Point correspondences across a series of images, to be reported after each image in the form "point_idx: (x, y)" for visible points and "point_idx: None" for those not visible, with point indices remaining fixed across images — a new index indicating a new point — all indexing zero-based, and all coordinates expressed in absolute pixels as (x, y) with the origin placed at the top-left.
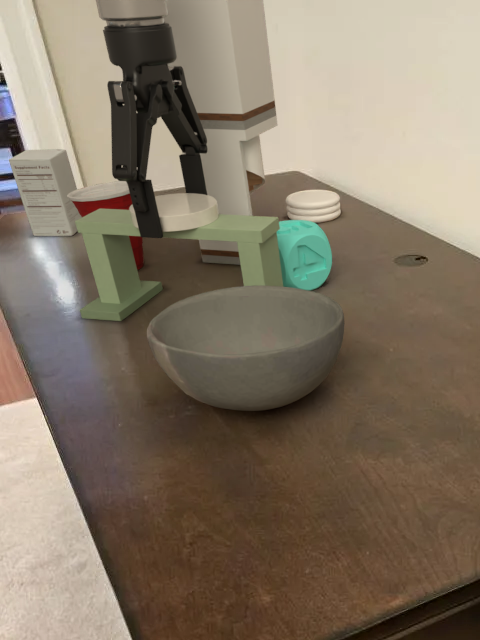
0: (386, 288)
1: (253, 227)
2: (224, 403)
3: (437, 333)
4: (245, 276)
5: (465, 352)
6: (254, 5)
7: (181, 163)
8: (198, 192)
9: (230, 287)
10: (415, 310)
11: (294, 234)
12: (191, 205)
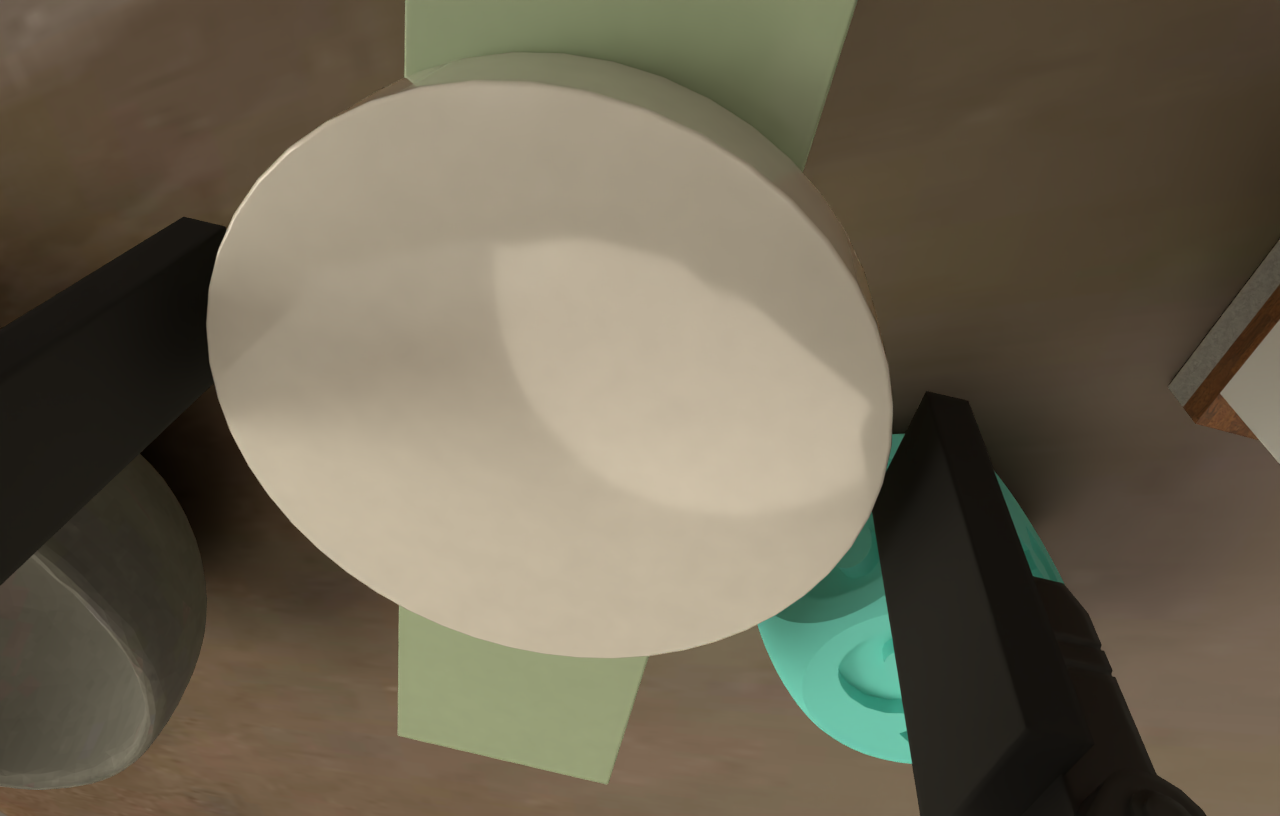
0: (800, 713)
1: (439, 716)
2: None
3: (496, 760)
4: None
5: (410, 781)
6: None
7: (1000, 661)
8: (905, 546)
9: (58, 580)
10: (631, 745)
11: (821, 699)
12: (516, 549)
